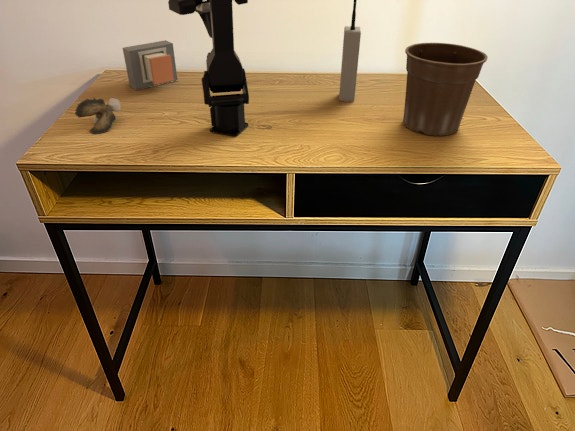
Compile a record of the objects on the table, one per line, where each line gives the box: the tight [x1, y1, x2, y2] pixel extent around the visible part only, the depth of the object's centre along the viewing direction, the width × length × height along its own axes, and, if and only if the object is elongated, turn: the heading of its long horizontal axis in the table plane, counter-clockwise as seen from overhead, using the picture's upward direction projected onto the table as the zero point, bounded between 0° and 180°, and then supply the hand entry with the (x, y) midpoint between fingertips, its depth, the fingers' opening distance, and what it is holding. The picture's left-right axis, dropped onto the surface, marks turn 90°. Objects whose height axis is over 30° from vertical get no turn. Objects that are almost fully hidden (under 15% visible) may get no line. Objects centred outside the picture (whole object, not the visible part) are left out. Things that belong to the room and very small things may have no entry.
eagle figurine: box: [74, 97, 122, 136], centre depth 100 cm, size 8×7×9 cm
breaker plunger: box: [142, 52, 174, 84], centre depth 120 cm, size 10×5×6 cm, turn 39°
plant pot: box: [402, 42, 489, 137], centre depth 99 cm, size 16×16×16 cm
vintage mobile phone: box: [338, 0, 362, 103], centre depth 109 cm, size 4×5×25 cm
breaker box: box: [122, 39, 178, 91], centre depth 121 cm, size 4×12×10 cm, turn 129°
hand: (212, 37), depth 114 cm, fingers closed
